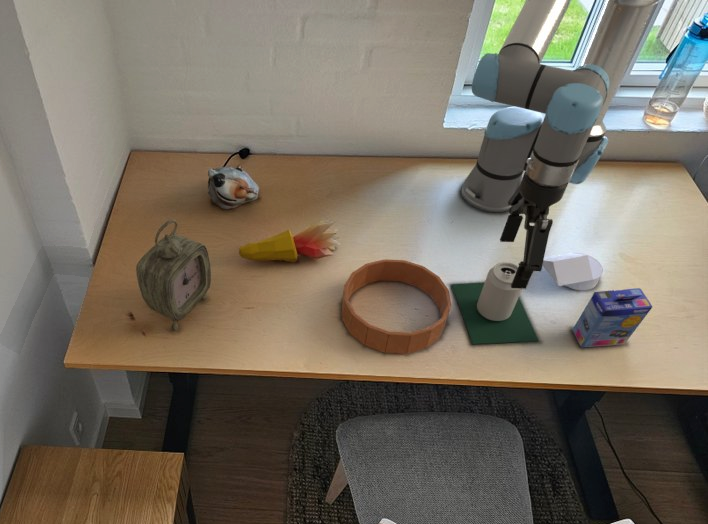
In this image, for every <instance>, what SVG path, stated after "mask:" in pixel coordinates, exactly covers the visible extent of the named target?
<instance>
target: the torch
mask: <svg viewBox="0 0 708 524" xmlns="http://www.w3.org/2000/svg"><path fill="white" fill-rule="evenodd" d="M335 223H336V222H334V221H333V222H332V219H330V220H327V219H324V220H320V221H318V222H316V223H314V224H313V225H311V226H309V227H308V228H305V229H304V230H303V231H301V232H299V233H298V234H296V235H293V233H292V231H291V230H289V229H287V230H285V231H283V232H280V233H278V234H276V235H273V236H271V237H268V238H265V239H262V240H260V241H255V242H248V243H246V244H244V245H242V246H240V247H239V248H238V254H239V256H240V257H241V258H242V259H246V260H250V261H259V262H266V261H285V262H290V263H291V262H292V263H296V262H297V260H298V256H299V255H300V256H306V257H310V258H311V259H314V260H315V261H316V260H320V259H323V258H328V257H331V256H335V254H334V252H333V251H335V250H336V248H335V247H336V246H338V245H341V244H342V243H341V242H339V241H338V240H339V239H340V237H339V236H337V235H336V234H338V232H339V230H340V228H335V229H330V230H328V229H329V228H330V227H332V225H334V224H335Z"/></svg>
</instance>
